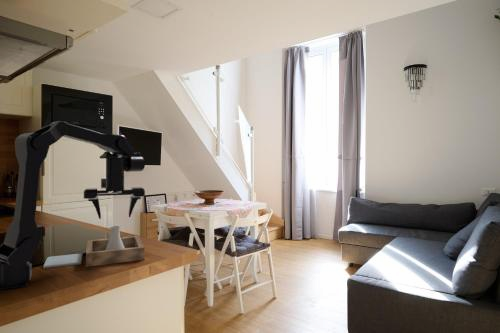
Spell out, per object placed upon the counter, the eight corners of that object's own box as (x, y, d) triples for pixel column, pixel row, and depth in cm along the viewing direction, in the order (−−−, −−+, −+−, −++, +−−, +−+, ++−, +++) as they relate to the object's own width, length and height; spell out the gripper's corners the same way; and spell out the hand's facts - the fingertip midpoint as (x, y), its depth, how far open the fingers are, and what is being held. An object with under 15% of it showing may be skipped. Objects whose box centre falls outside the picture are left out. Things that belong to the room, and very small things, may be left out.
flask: (118, 259, 102) (118, 229, 102) (98, 258, 104) (98, 228, 104) (130, 253, 110) (130, 225, 109) (112, 251, 111) (112, 223, 111)
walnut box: (86, 266, 95) (86, 253, 95) (87, 251, 111) (87, 240, 111) (144, 259, 103) (144, 247, 103) (138, 246, 118) (138, 235, 118)
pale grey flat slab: (43, 268, 93) (43, 266, 93) (47, 258, 102) (47, 256, 102) (81, 263, 98) (81, 262, 98) (82, 255, 107) (82, 253, 107)
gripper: (141, 171, 117) (140, 212, 118) (85, 171, 109) (84, 215, 110) (145, 172, 107) (144, 217, 108) (83, 172, 99) (83, 221, 100)
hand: (115, 217), depth 106 cm, fingers open, 9 cm apart
